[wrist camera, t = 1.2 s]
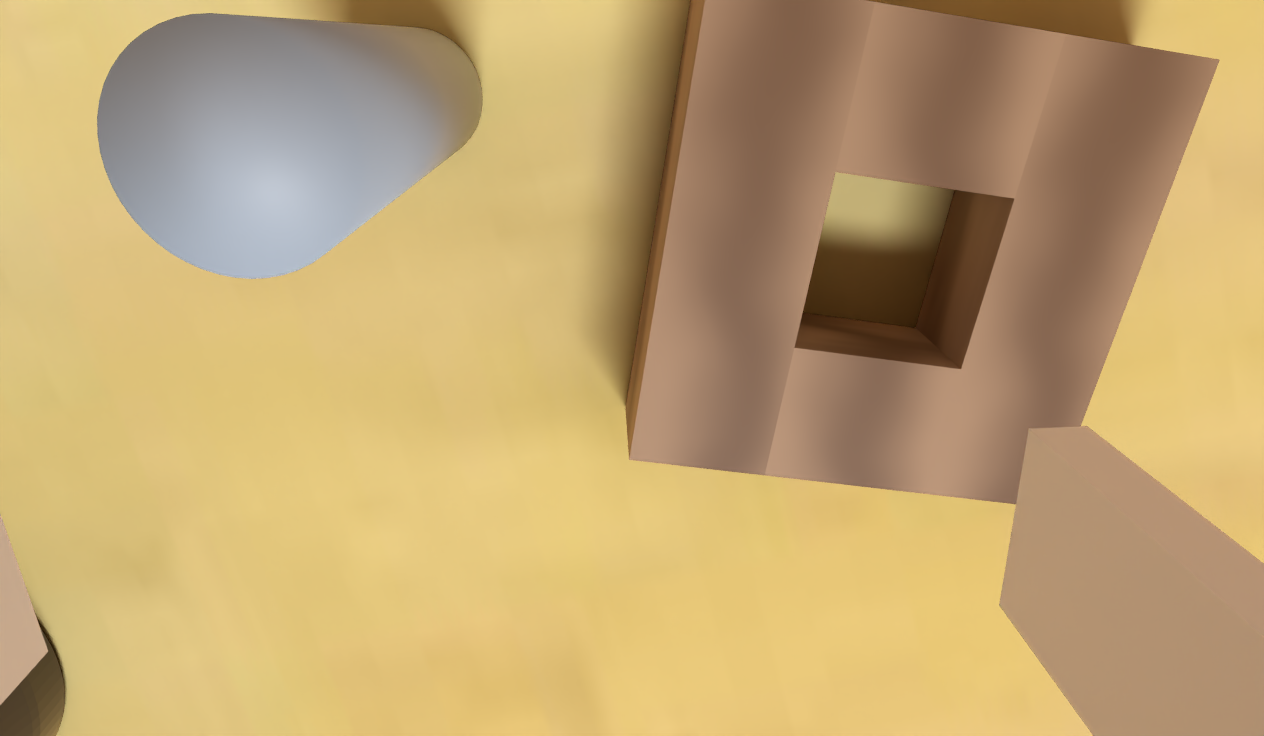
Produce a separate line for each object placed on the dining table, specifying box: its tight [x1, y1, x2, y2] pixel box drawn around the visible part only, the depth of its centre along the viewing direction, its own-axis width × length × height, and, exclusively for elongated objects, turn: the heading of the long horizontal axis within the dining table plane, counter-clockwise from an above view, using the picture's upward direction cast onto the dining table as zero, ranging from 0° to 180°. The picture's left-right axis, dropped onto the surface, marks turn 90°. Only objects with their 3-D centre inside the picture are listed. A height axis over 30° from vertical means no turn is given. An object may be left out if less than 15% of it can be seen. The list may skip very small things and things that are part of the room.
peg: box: [97, 13, 482, 279], centre depth 22 cm, size 4×4×16 cm
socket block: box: [626, 0, 1219, 504], centre depth 30 cm, size 16×16×4 cm
